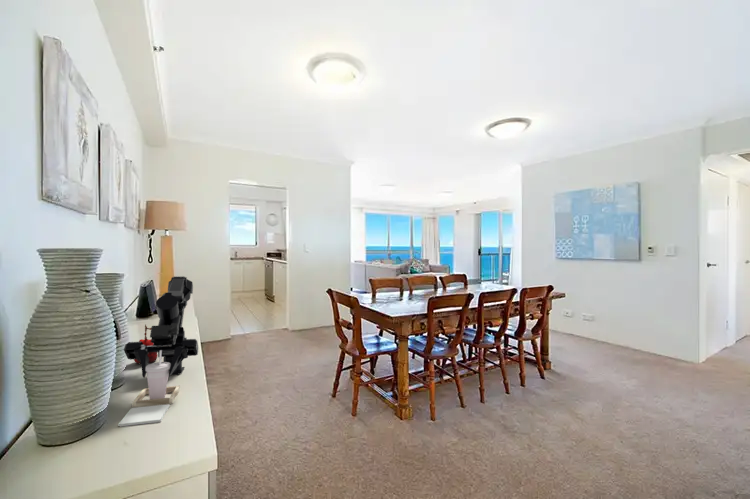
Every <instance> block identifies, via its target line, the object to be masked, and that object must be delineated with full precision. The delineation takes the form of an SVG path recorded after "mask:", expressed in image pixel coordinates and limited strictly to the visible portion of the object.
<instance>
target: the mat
mask: <svg viewBox="0 0 750 499" xmlns="http://www.w3.org/2000/svg"><path fill="white" fill-rule="evenodd" d="M170 406H171V404H164V405H155V406H145V407H135V408H132V407H131V408H130V409H129V411H128V412H127V413H126V414H125V416H124V417H123V418H122V419H121V421H119V423H118V424H117V425H118V426H120V427H127V426H136V425H143V424H144V425H145V424H153V423H161V422H162V420H163V418H165V415H166V413H167V412H168V410H169V409H170ZM118 426H117V427H118Z"/></svg>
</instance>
